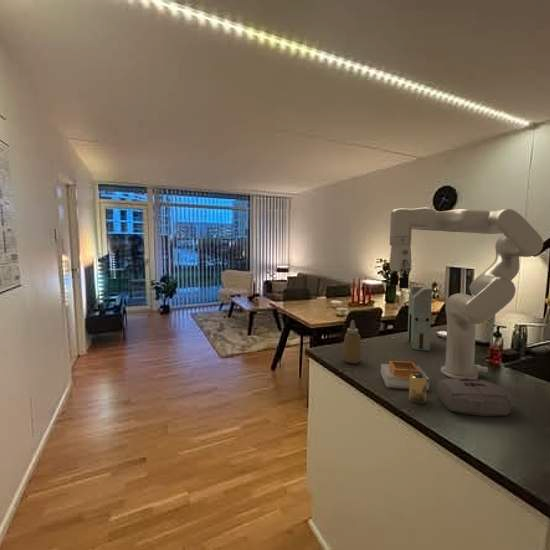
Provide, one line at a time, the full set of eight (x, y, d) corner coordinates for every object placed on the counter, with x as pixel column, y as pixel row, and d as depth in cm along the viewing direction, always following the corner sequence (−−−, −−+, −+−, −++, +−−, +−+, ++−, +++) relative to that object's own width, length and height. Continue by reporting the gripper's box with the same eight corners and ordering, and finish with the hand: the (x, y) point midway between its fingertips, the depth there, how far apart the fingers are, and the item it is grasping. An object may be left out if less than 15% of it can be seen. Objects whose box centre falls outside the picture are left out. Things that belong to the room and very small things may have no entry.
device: (407, 339, 166) (409, 284, 163) (423, 340, 164) (425, 284, 161) (412, 349, 150) (414, 288, 147) (429, 350, 148) (432, 288, 145)
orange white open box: (418, 375, 119) (419, 360, 119) (428, 389, 107) (429, 373, 107) (380, 373, 121) (381, 358, 121) (386, 387, 110) (387, 370, 109)
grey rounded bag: (450, 417, 90) (525, 422, 88) (451, 389, 90) (527, 394, 87) (432, 393, 105) (496, 397, 102) (432, 369, 105) (497, 372, 102)
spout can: (427, 404, 98) (428, 377, 97) (411, 403, 98) (412, 376, 98) (421, 394, 104) (422, 369, 103) (406, 393, 105) (406, 368, 104)
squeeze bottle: (362, 365, 130) (363, 323, 128) (342, 364, 132) (343, 322, 130) (361, 358, 138) (361, 319, 136) (342, 357, 140) (343, 318, 138)
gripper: (420, 241, 108) (418, 289, 110) (401, 242, 126) (399, 284, 127) (399, 241, 108) (397, 289, 110) (382, 242, 126) (381, 283, 127)
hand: (398, 286), depth 119 cm, fingers open, 9 cm apart
